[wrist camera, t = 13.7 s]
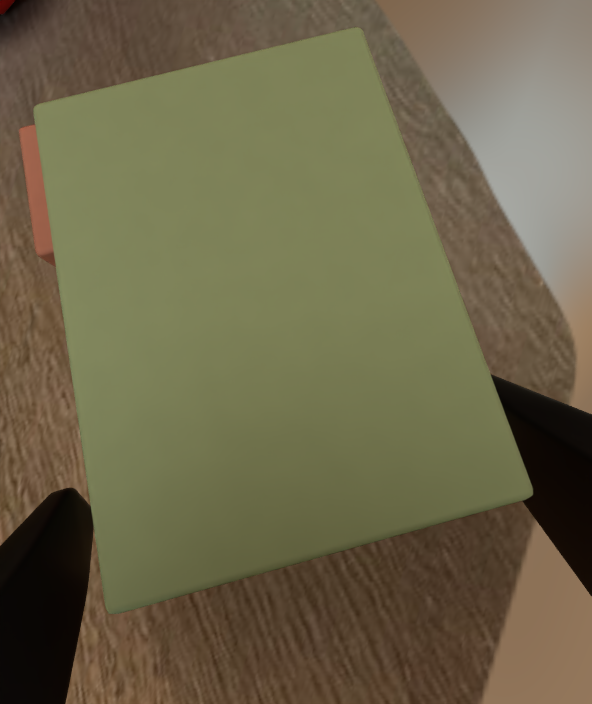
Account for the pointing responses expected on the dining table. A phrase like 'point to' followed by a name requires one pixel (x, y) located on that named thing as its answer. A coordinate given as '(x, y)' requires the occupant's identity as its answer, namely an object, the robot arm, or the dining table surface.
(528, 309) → the dining table surface
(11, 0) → the tomato
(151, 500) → the tall sage green pillar
